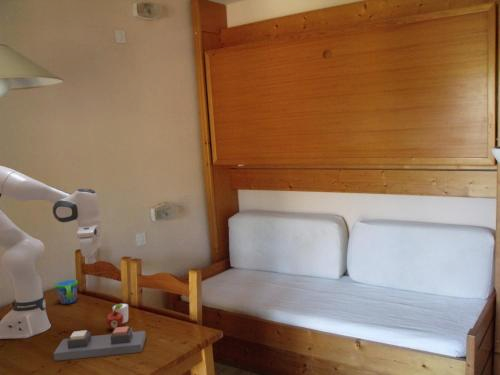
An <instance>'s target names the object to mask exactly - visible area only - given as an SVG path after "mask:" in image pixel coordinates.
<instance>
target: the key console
mask: <svg viewBox="0 0 500 375" xmlns="http://www.w3.org/2000/svg"><path fill="white" fill-rule="evenodd" d="M112 330H113V329H112ZM114 330H115V329H114ZM114 330H113V331H112V333H110V334H109V333H108V334H101V335H100V334H99V335H92V334H91V331H87V336H86V338H85V339H76V340H71V338H70V337H71V335H70V336H69V338H63V339H62V340H61V341H60V343H59V345H58V346H57V348H56V349H55V350H54V352H53V360H54V362H57V361H58V362H60V361H67V360H69V361H70V360H79V359H88V358H96V357H109V356H118V355H127V354H136V353H137V354H139V353H142V352H143V348H144V345H145V341H146V339H145V338H147V337H146V331H145V330H140V331H133V327H129V332H128V334H127V335H117V336H114V335H113V332H114Z"/></svg>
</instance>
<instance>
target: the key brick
mask: <svg viewBox="0 0 500 375" xmlns="http://www.w3.org/2000/svg"><path fill="white" fill-rule="evenodd" d="M129 328H130V327H129V326H121V327H117V328H115V330H114V332H113V331H112V332H113V335H114V336H117V335H127V334H128V332H129Z"/></svg>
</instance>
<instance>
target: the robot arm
mask: <svg viewBox="0 0 500 375" xmlns="http://www.w3.org/2000/svg"><path fill="white" fill-rule="evenodd" d="M1 196H5V197H6V198H9V199H11V200H15V201H21V202H25V201H26V202H27V201H37V200H38V201H44V202H45V201H47V202H50V203H52V204H53V207H52V214H53V217H54V218H55V220H56V221H58V222H60V223H71V222H72V221H73V222H74V221H77V226H78V227H77V229H78V230H77V232H76V236H77V238H78V240H79V241H78V242H79V248H80V253H81V255H82V257H83V258H85V257H89V260H90V261H89V262H90V263H91V264H95V263H96V261H97V255H98V254H97V253H98V252H97V251H98V250H99V248H100V247H101V246H102V236H101V233H102V231H103V229H102V220H101V217H100V203H99V198H98V194H97V192H96V191H95V190H93V189H91V188H79V189H76V190H75V192H73V193H69V192H67V191H64V190H62V189H59V188H57V187H54V186H52V185H48V184H47V183H43V182H41V181H39V180H36V179H34V178H32V177H30V176H28V175H26V174H23V173H22V172H20V171H17V170H15V169H12V168H10V167H6V166H3V165H0V198H1ZM0 246H1V247H2V248H4V249H5V250H6V251H5V252H4V253H3V255H2V256H1V260H0V261H1V266H2V267H3V268H4V270H5V271H7V272H8V274H9V276H10V278H11V281H12V284H13V289H14V290H13V291H14V299H13V301H12V302H11V303H10V308H11V310H10V311H9V312H8V313H6V314H5V315H4V316H3V317H2V319H1V320H0V340H3V339H28V338H31V337H33V336H35V335H39V334H41V333H44V332H46V331H48V330H49V329H51V327H52V324H51V323H50V320H49V318H48V314H47V310H46V309H47V307H46V306H47V305H46V303H47V302H46V299H45V295H44V290H43V283H42V278H41V276H39V275H38V273H37V270H36V267H35V264H36V263H38V262H39V261H40V260H41V259H42V257H43V256H44V255H45V251H46V248H45V244H44V243H43V241H41V240H40V239H37V238H35V237H33V236H32V235H29V234H28V233H27V232H25V231H24V230H22V229H21V228H19V227H18V226H17V225H16V224H15V223H14V222H13V221H12V219H10V218H9V217H8V216H7V215H6V214H5V213H4V211H2V210H1V209H0Z"/></svg>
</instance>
